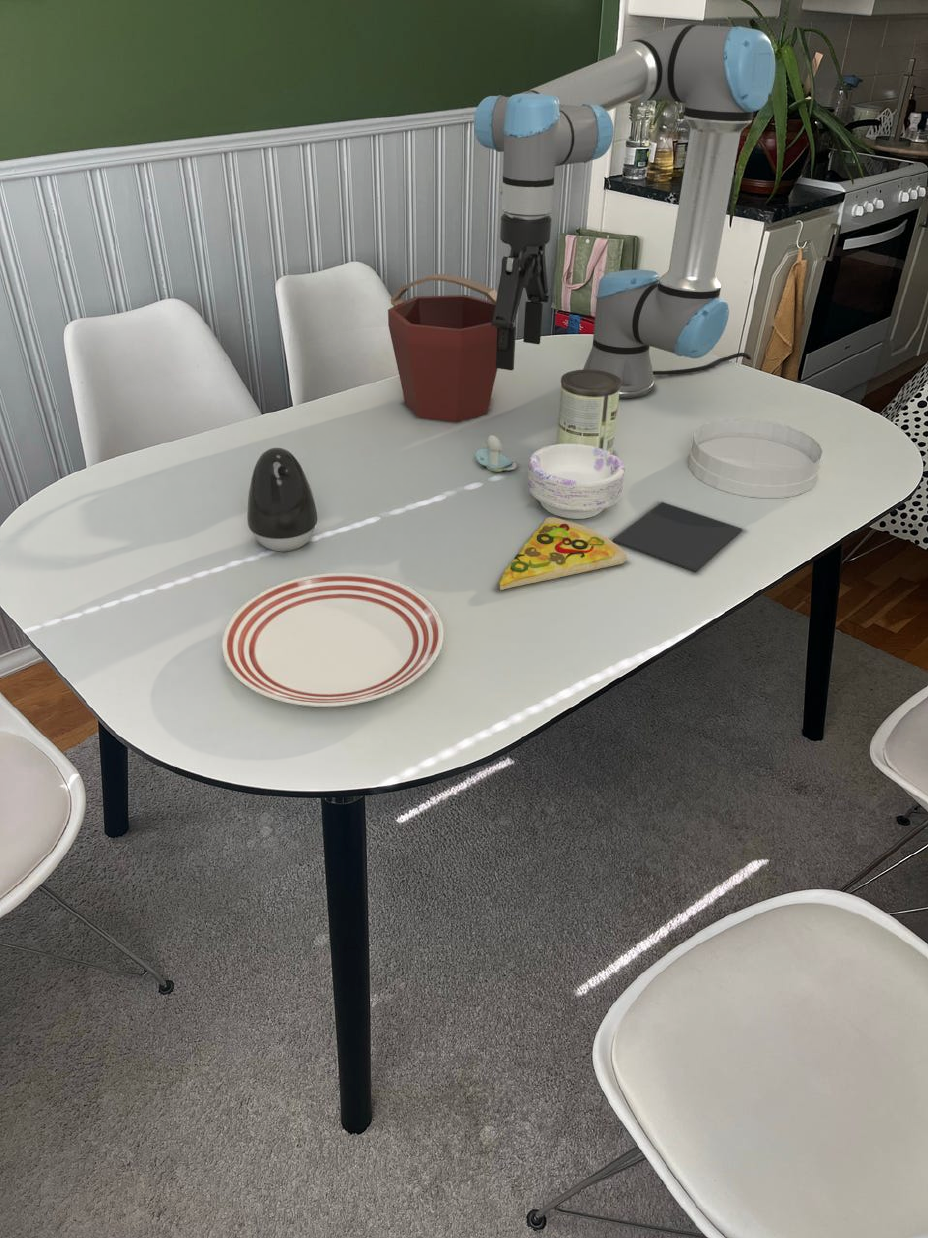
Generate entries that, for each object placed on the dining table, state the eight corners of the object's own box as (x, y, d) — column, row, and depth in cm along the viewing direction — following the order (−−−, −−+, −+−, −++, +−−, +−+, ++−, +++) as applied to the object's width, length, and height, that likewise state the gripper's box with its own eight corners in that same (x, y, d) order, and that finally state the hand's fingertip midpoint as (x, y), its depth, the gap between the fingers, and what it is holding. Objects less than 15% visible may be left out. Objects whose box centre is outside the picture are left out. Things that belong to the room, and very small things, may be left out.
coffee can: (555, 441, 175) (561, 367, 167) (611, 444, 174) (620, 370, 166) (554, 465, 166) (560, 388, 158) (613, 468, 165) (622, 391, 157)
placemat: (661, 504, 155) (662, 502, 155) (741, 530, 148) (742, 528, 148) (612, 541, 144) (612, 539, 144) (695, 572, 137) (696, 570, 137)
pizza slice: (632, 559, 140) (635, 542, 138) (539, 613, 128) (541, 594, 126) (553, 522, 149) (555, 505, 147) (459, 569, 137) (460, 551, 135)
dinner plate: (450, 717, 110) (450, 695, 108) (210, 727, 107) (206, 704, 106) (437, 590, 132) (437, 569, 130) (238, 595, 130) (235, 575, 128)
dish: (682, 487, 160) (687, 460, 157) (692, 437, 177) (696, 411, 175) (819, 506, 155) (826, 478, 152) (815, 452, 173) (821, 426, 170)
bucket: (530, 407, 188) (538, 278, 174) (457, 440, 174) (460, 303, 160) (438, 376, 201) (439, 254, 187) (364, 405, 187) (359, 275, 173)
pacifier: (495, 456, 169) (470, 464, 166) (497, 423, 166) (472, 430, 162) (524, 469, 165) (500, 478, 161) (527, 436, 161) (502, 444, 158)
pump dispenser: (263, 566, 136) (251, 470, 128) (242, 534, 144) (230, 442, 135) (329, 551, 140) (322, 457, 132) (305, 520, 148) (298, 430, 139)
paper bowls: (637, 506, 154) (644, 461, 150) (581, 538, 145) (586, 492, 140) (564, 476, 162) (568, 433, 158) (506, 505, 153) (509, 460, 149)
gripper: (528, 196, 150) (521, 329, 162) (472, 228, 131) (468, 376, 143) (573, 201, 148) (563, 335, 160) (524, 233, 129) (515, 384, 141)
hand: (518, 355), depth 151 cm, fingers open, 13 cm apart
